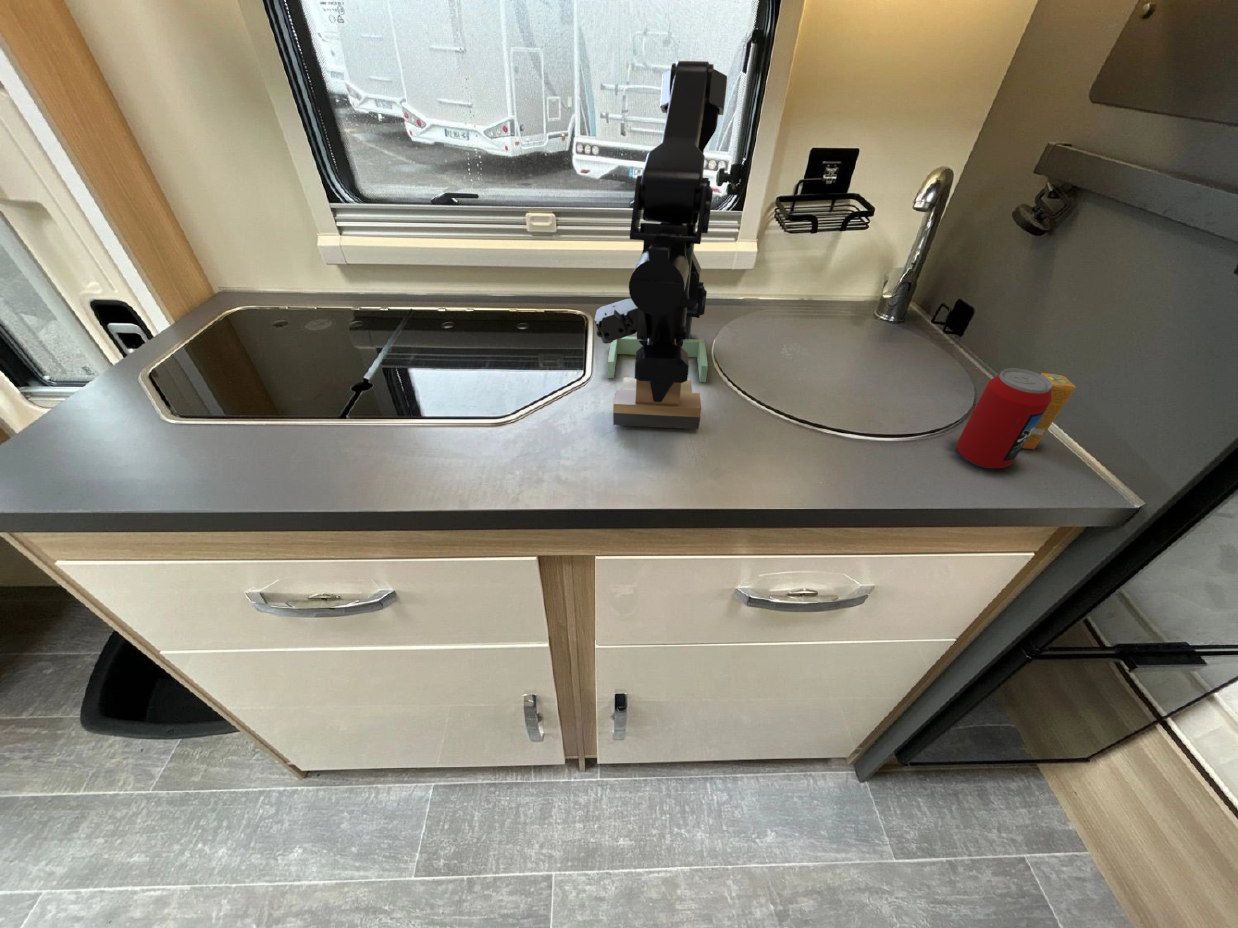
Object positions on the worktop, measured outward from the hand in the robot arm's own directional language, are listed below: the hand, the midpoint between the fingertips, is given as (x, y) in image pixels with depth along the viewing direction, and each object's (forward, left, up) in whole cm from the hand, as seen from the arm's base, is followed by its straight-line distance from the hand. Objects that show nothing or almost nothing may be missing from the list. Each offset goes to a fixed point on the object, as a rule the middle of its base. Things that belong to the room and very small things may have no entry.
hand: (657, 395), depth 73 cm
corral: (-17, 0, -5) cm, 18 cm away
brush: (0, 0, -4) cm, 4 cm away
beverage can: (+4, +44, -5) cm, 44 cm away
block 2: (-4, +3, -5) cm, 7 cm away
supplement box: (0, +51, -5) cm, 51 cm away
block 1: (-4, -3, -5) cm, 7 cm away
